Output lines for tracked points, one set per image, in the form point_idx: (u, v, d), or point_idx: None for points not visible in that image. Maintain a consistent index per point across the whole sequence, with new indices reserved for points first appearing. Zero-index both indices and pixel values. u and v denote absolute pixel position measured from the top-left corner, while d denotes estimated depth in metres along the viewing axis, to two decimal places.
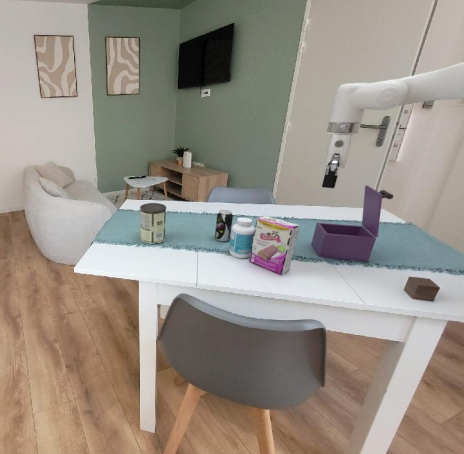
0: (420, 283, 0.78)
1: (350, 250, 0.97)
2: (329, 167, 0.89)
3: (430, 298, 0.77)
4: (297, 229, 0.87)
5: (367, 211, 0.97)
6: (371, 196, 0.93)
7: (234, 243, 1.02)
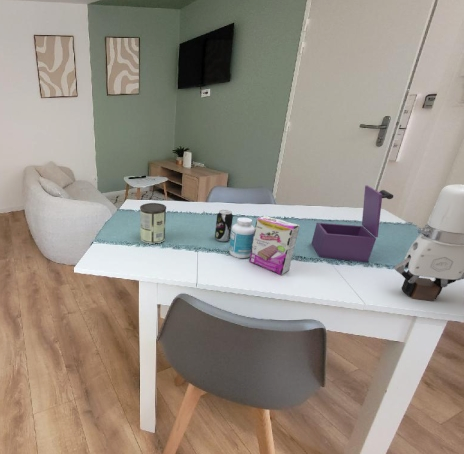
0: (420, 283, 0.78)
1: (350, 250, 0.97)
2: (408, 271, 0.79)
3: (430, 298, 0.77)
4: (297, 229, 0.87)
5: (367, 211, 0.97)
6: (371, 196, 0.93)
7: (234, 243, 1.02)
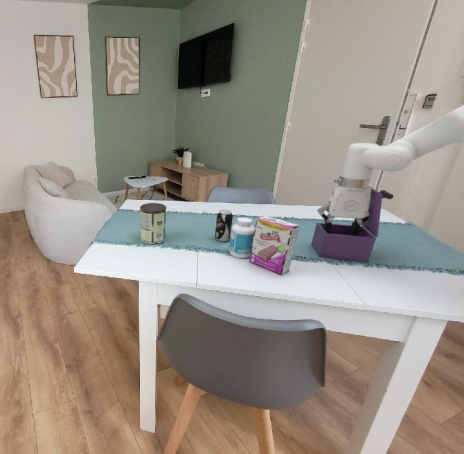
0: None
1: (350, 250, 0.97)
2: (328, 214, 1.00)
3: None
4: (297, 229, 0.87)
5: None
6: (371, 196, 0.93)
7: (234, 243, 1.02)
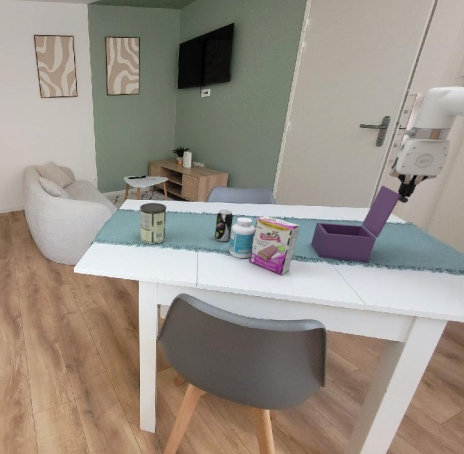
0: None
1: (350, 250, 0.97)
2: None
3: None
4: (297, 229, 0.87)
5: (374, 211, 0.96)
6: (386, 196, 0.92)
7: (234, 243, 1.02)
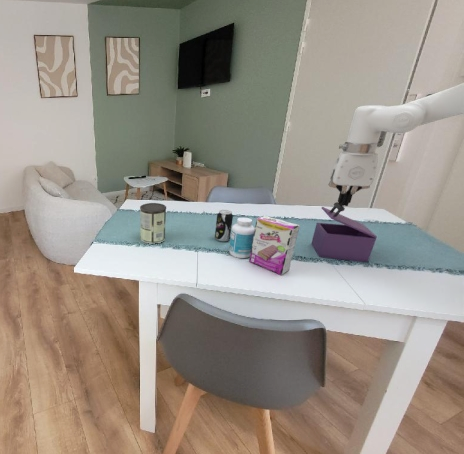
0: None
1: (350, 250, 0.97)
2: None
3: None
4: (297, 229, 0.87)
5: None
6: None
7: (234, 243, 1.02)
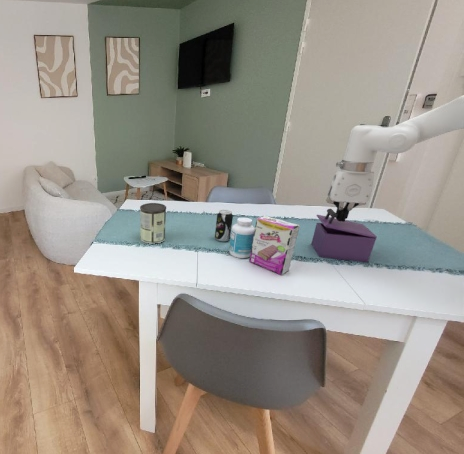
0: None
1: (350, 250, 0.97)
2: None
3: None
4: (297, 229, 0.87)
5: None
6: None
7: (234, 243, 1.02)
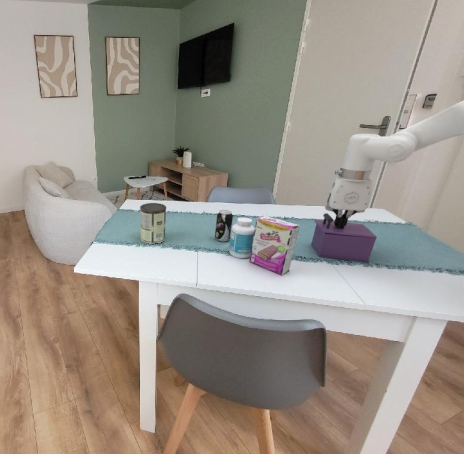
0: None
1: (350, 250, 0.97)
2: (336, 209, 0.99)
3: None
4: (297, 229, 0.87)
5: None
6: None
7: (234, 243, 1.02)
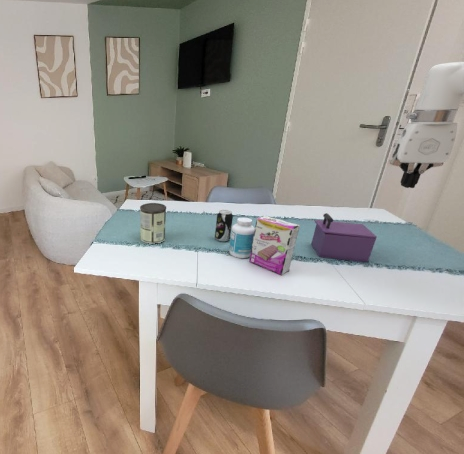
0: None
1: (350, 250, 0.97)
2: None
3: None
4: (297, 229, 0.87)
5: None
6: None
7: (234, 243, 1.02)
